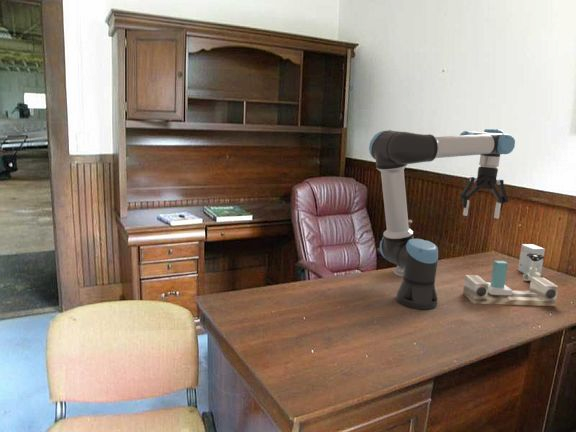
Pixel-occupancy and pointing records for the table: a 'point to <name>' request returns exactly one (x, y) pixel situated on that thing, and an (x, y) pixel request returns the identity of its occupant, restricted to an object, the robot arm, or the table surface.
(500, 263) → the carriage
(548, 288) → the rail board
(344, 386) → the table surface
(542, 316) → the table surface
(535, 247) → the small box
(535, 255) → the valve
